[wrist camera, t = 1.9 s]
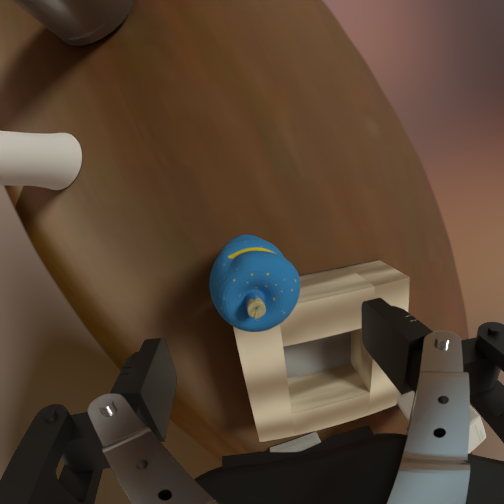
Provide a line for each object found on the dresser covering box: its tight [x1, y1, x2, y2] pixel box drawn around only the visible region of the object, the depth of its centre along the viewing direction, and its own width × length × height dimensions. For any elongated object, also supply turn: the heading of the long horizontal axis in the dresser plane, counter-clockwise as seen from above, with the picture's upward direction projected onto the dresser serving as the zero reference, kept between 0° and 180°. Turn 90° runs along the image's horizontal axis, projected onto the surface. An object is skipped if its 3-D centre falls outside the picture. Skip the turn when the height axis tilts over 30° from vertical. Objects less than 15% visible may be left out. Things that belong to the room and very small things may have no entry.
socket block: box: [233, 260, 410, 442], centre depth 28 cm, size 16×16×6 cm
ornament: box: [209, 235, 300, 332], centre depth 21 cm, size 5×5×15 cm
